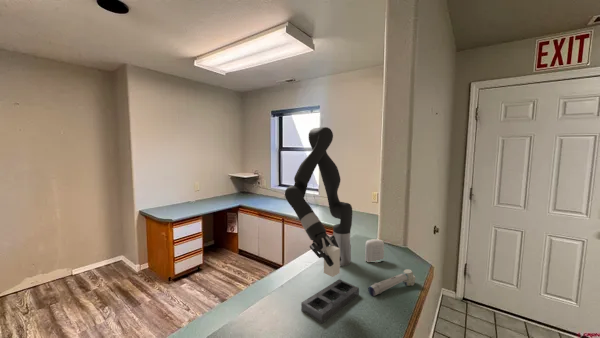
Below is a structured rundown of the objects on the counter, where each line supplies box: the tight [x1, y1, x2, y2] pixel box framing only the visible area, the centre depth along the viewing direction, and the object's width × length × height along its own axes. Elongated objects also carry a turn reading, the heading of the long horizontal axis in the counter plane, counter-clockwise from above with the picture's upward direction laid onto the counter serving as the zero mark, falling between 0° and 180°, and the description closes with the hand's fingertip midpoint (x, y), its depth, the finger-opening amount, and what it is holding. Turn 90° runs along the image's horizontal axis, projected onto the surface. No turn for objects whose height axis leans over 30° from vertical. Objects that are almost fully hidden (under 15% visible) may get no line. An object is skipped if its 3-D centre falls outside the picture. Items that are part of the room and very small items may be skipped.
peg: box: [323, 245, 341, 278], centre depth 92 cm, size 4×4×10 cm
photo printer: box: [364, 238, 385, 263], centre depth 129 cm, size 10×4×12 cm, turn 98°
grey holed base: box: [300, 278, 360, 324], centre depth 93 cm, size 24×10×3 cm, turn 135°
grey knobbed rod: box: [367, 269, 416, 297], centre depth 103 cm, size 5×7×25 cm
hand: (335, 263), depth 91 cm, fingers closed on peg, 4 cm apart
